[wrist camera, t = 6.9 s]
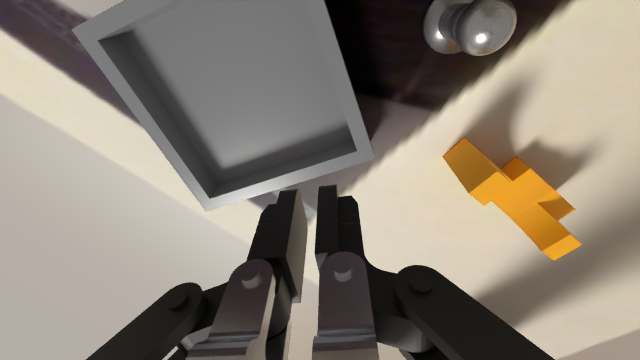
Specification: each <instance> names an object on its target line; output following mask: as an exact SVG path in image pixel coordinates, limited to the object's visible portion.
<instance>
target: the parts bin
mask: <svg viewBox="0 0 640 360" xmlns="http://www.w3.org/2000/svg"><path fill="white" fill-rule="evenodd" d="M71 30H72V31H73V32H74V34H75V35H76V36H77V38H78V39H79V41H80V42H81V43H82V45H83V46H84V47H85V49H86V50H87V51H88V53H89V54H90V55H91V57H92V58H93V59H94V61H95V62H96V63H97V65H98V66H99V68H100V69H101V70H102V72H103V73H104V74H105V76H106V77H107V78H108V80H109V81H110V82H111V84H112V85H113V86H114V88H115V89H116V91H117V92H118V93H119V95H120V96H121V97H122V99H123V100H124V101H125V103H126V104H127V105H128V107H129V108H130V109H131V111H132V112H133V114H134V115H135V116H136V118H137V119H138V120H139V122H140V123H141V124H142V126H143V127H144V128H145V130H146V131H147V132H148V134H149V135H150V137H151V138H152V139H153V141H154V142H155V143H156V145H157V146H158V147H159V149H160V150H161V151H162V153H163V154H164V155H165V157H166V158H167V160H168V161H169V162H170V164H171V165H172V166H173V168H174V169H175V170H176V172H177V173H178V174H179V176H180V177H181V178H182V180H183V181H184V183H185V184H186V185H187V187H188V188H189V189H190V191H191V192H192V193H193V195H194V196H195V197H196V199H197V200H198V201H199V203H200V204H201V206H202V207H203V208H204V210H205V211H206V212H207V211H210V210H213V209H217V208H220V207H223V206H226V205H229V204H232V203H236V202H239V201H242V200H245V199H248V198H252V197H255V196H258V195H261V194H264V193H267V192H271V191H274V190H277V189H280V188H283V187H287V186H290V185H293V184H296V183H299V182H302V181H306V180H309V179H312V178H315V177H318V176H322V175H325V174H328V173H331V172H334V171H337V170H341V169H344V168H347V167H350V166H353V165H357V164H360V163H363V162H366V161H369V160H372V159H375V157H374V153H373V149H372V146H371V142H370V139H369V136H368V133H367V130H366V126H365V123H364V120H363V117H362V114H361V111H360V108H359V105H358V102H357V98H356V95H355V92H354V89H353V86H352V83H351V80H350V77H349V74H348V70H347V67H346V64H345V61H344V58H343V55H342V52H341V49H340V46H339V42H338V39H337V36H336V33H335V30H334V27H333V24H332V21H331V18H330V14H329V11H328V8H327V5H326V2H325V0H124V1H123V2H121V3H119V4H117V5H115V6H113V7H111V8H110V9H108V10H106V11H104V12H102V13H101V14H99V15H97V16H95V17H93V18H91V19H90V20H88V21H86V22H84V23H82V24H80V25H79V26H77V27H75V28H73V29H71Z"/></svg>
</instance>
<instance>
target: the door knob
mask: <svg viewBox="0 0 640 360" xmlns="http://www.w3.org/2000/svg"><path fill="white" fill-rule="evenodd" d="M515 26H516V11H515V8H514V6H513V5H512V3H511V2H510V1H509V0H432V1H431V2H430V3H429V5H428V7H427V8H426V10H425V13H424V15H423V19H422V35H423V38H424V40H425V42H426V43H427V45H428V46H429V47H430V48H432V49H433V50H435V51H437V52H440V53H443V54H453V53H457V52H460V51H462V50H463V51H464V52H466V53H468V54H470V55H475V56H482V55H487V54H490V53H492V52H495V51H496V50H498V49H499V48H501V47H502V46H503V45H504V44H505V43H506V42H507V41H508V40H509V39H510V37H511V35H512V34H513V32H514V29H515Z"/></svg>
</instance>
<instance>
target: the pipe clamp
mask: <svg viewBox="0 0 640 360" xmlns="http://www.w3.org/2000/svg"><path fill="white" fill-rule="evenodd" d="M443 158H444V159H445V161H446V162H447V164H448V165H449V166H450V168H451V169H452V171H453V172H454V173H455V175H456V176H457V178H458V179H459V180H460V182H461V183H462V185H463V186H464V187H465V189H466V190H467V192H468V193H469V194H470V195H471V196H473V197H474V198H475V199H476V200H478V201H479V202H480V203H482V204H483V205H484V206H485V205H486V204H487V203H489V202H490V201H492V202H493V203H494V204H496V205H497V206H498V207H499V208H500V209H501V210H502V211H503V212H505V213H506V214H507V215H508V216H509V217H510V218H511V219H512V220H513V221H514V222H515V223H516V224H517V225H518V226H519V227H520V228H521V229H522V230H523V231H524V232H525V233H526V234H527V235H528V236H529V237H530V239H531V240H532V241H533V242H534V243H535V244H536V245H537V246H538V247H539V249H540V250H541V251H542V252H543V253H545V254H546V255H547V256H548V257H550V258H551V259H552V260H553V261H555V260H556V259H558V258H560V257H562V256H563V255H565V254H567V253H569V252H571V251H572V250H574V249H576V248H578V247H579V246H581V245H582V244H581V243H580V242H579V241H578V240H577V239H576V238H575V237H574V236H573V235H572V234H571V233H570V232H569V231H568V230H567V229H566V228H565V227H564V226H562V225H561V224H560V223H559V222H558V220H560V219H561V218H563V217H564V216H566V215H568V214H569V213H571V212H572V211H574V210H576V209H575V208H573V207H572V206H571V205H570V204H569V203H568V202H567V201H566V200H565V199H564V198H563V197H562V196H560V195H559V194H558V193H557V192H556V191H555V190H554V189H553V188H552V187H551V186H549V185H548V184H547V183H546V182H545V181H544V180H543V179H542V178H541V177H539V176H538V175H537V174H536V173H535V172H534V171H533V170H532V169H531V168H530V167H528V166H527V165H526V164H525V163H524V162H522V161H521V160H520V159H519V158H518V157H516V158H515V159H513V160H512V161H511V162H509V163H508V164H507V165H506V166H504V167H503V168H502V169H500V168H499V167H498V166H497V165H495V164H494V163H493V162H492V161H491V160H490V159H489V158H487V157H486V156H485V155H484V154H483V153H482V152H481V151H479V150H478V149H477V148H476V147H475V146H474V145H473V144H471V143H470V142H469V141H468V140H467V139H466V138H465V137H464V138H463V139H462V140H461V141H460V142H459V143H458V144H456V145H455V146H454V147H453V148H452V149H451V150H450V151H449V152H447V153H446V154H445V155H444V156H443Z"/></svg>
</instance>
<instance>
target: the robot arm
mask: <svg viewBox="0 0 640 360" xmlns="http://www.w3.org/2000/svg"><path fill="white" fill-rule="evenodd" d="M307 231H308V229H307V219H306V215H305V211H304V206H303V202H302V198H301V194H300V191H299V189H294V190H285V191H280V193H279V197H278V201H277V204H270V205H268V206H267V207H266V209H265V210H264V211H263V212H262V213H261V216H260V219H259V222H258V226H257V229H256V233H255V235H254V238H253V242H252V245H251V248H250V251H249V254H248V257H247V261H246V262H245V263H243V264H241V265H240V266H238V267H237V268H236V269H235V271H233V273H232V274H231V276H230V278H229V281H228V282H226V283H224V284H222V285H219V286H216V287H213V288H211V289H208V290H205V291H202V289H201V287H200V286H199V285H198V284H196V283H190V282H189V283H183V284H180V285H178V286H175V287H174V288H172V289H170V290H169V291H168V292H167V293H165V294H164V295H163V296H162V297H160V298H159V299H158V300H157V301H156V302H154V303H153V304H152V305H151V306H150V307H148V308H147V309H146V310H145V311H144V312H142V313H141V314H140V315H139V316H138V317H136V318H135V319H134V320H133V321H132V322H131V323H129V324H128V325H127V326H126V327H125V328H123V329H122V330H121V331H120V332H118V333H117V334H116V335H115V336H114V337H113V338H111V339H110V340H109V341H108V342H107V343H105V344H104V345H103V346H102V347H100V348H99V349H98V350H97V351H96V352H94V353H93V354H92V355H91V356H90V357H88V358H87V359H86V360H162V359H163V358H164V357H165V356H166V355H167V354H168V353H169V352H170V351H171V350H172V349H173V348H174V347H175V346H177V347H178V350H177V351H176V352H175V353H174V354H173V355H172V356H171V357H170V358H169V359H168V360H287V359H288V351H289V344H290V335H291V327H292V321H291V317H290V313H291V306H292V303H301V294H302V284H303V274H304V263H305V253H306V243H307ZM315 257H316V261H317V266H318V270H319V306H318V332H317V336H314V340H313V347H312V360H379V354H378V346H377V342H380V343H383V344H386V345H389V346H392V347H396V348H398V349H399V351H400V352H401V353H402V355H403V356H404V357H405V358H406V359H407V360H555V359H553V358H552V357H551V356H549V355H548V354H547V353H545V352H544V351H543V350H541V349H540V348H539V347H537V346H536V345H535V344H533V343H532V342H531V341H529V340H528V339H527V338H525V337H524V336H523V335H521V334H520V333H519V332H517V331H516V330H515V329H513V328H512V327H511V326H509V325H508V324H507V323H505V322H504V321H503V320H501V319H500V318H499V317H497V316H496V315H495V314H493V313H492V312H491V311H489V310H488V309H487V308H485V307H484V306H483V305H481V304H480V303H479V302H477V301H476V300H475V299H473V298H472V297H471V296H469V295H468V294H467V293H465V292H464V291H463V290H461V289H460V288H459V287H457V286H456V285H455V284H453V283H452V282H451V281H449V280H448V279H447V278H445V277H444V276H443V275H441V274H440V273H439V272H437V271H436V270H434V269H432V268H430V267H427V266H422V265H412V266H408V267H405V268H404V269H402V270H401V271H399V272H398V274H396V273H392V272H387V271H383V270H380V269H378V268H376V267H374V266H373V265H371V264H370V263H369V262H368V260H367V259H366V257H365V255H364V249H363V241H362V233H361V225H360V218H359V210H358V203H357V202H356V201H355V199H354V198H353V197H352V196H343V197H339V193H338V187H337V185H329V186H320V187H319V192H318V208H317V224H316V240H315Z"/></svg>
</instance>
